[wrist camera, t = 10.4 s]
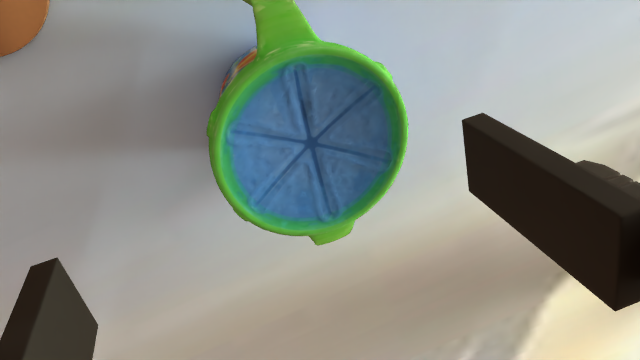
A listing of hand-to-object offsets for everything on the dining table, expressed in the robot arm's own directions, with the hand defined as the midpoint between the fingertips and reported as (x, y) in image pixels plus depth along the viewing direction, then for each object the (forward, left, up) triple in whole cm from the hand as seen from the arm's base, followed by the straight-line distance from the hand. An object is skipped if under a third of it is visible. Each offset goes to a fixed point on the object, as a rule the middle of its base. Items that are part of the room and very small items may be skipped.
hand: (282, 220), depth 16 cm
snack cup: (-3, +2, -20) cm, 20 cm away
